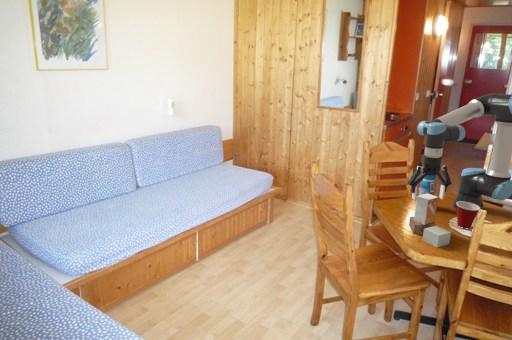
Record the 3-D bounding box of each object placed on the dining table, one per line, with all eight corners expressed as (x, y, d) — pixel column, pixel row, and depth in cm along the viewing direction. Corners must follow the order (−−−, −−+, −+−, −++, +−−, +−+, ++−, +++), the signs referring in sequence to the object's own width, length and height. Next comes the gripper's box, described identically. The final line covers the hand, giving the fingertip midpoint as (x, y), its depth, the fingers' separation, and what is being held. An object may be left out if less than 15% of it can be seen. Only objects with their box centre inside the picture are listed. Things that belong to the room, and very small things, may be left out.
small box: (424, 225, 184) (428, 200, 180) (413, 220, 189) (416, 196, 185) (435, 221, 188) (438, 196, 184) (423, 217, 193) (427, 192, 189)
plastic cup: (476, 233, 186) (480, 210, 183) (451, 228, 192) (455, 205, 189) (477, 225, 195) (481, 203, 192) (453, 221, 201) (457, 199, 198)
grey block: (434, 237, 182) (436, 225, 181) (449, 244, 176) (451, 232, 174) (422, 240, 179) (424, 228, 177) (436, 247, 172) (438, 235, 170)
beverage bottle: (416, 208, 218) (421, 174, 213) (417, 203, 226) (421, 170, 220) (433, 210, 215) (438, 176, 209) (432, 205, 222) (437, 172, 217)
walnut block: (429, 227, 194) (431, 218, 192) (435, 235, 184) (436, 226, 183) (408, 225, 195) (410, 216, 194) (413, 234, 186) (414, 224, 185)
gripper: (410, 158, 175) (405, 202, 181) (463, 157, 176) (457, 200, 182) (403, 154, 182) (399, 196, 188) (454, 153, 183) (448, 195, 189)
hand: (427, 198), depth 185 cm, fingers open, 13 cm apart
